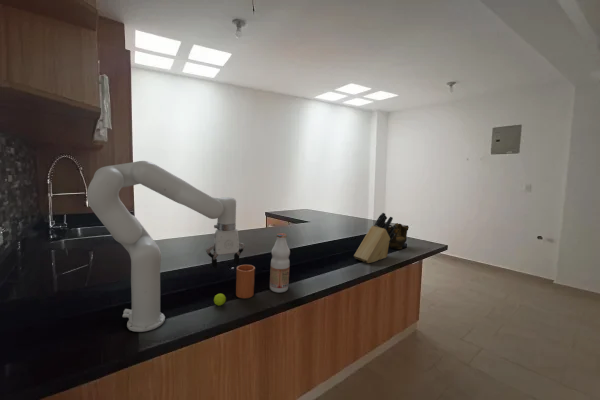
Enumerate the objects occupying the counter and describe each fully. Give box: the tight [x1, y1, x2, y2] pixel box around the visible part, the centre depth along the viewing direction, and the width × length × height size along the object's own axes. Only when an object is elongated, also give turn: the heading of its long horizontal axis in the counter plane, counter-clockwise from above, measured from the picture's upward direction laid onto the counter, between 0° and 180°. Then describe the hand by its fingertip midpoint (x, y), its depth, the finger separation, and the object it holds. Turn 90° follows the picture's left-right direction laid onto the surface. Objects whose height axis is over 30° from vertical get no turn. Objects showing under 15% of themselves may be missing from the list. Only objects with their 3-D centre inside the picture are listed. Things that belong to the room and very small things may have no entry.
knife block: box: [353, 212, 396, 264], centre depth 202 cm, size 11×35×31 cm, turn 133°
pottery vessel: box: [387, 222, 409, 250], centre depth 232 cm, size 25×11×20 cm, turn 132°
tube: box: [235, 264, 256, 299], centre depth 137 cm, size 8×8×13 cm
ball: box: [213, 292, 227, 307], centre depth 126 cm, size 5×5×5 cm
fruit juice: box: [269, 232, 291, 293], centre depth 144 cm, size 9×9×28 cm
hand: (225, 265), depth 126 cm, fingers open, 9 cm apart
